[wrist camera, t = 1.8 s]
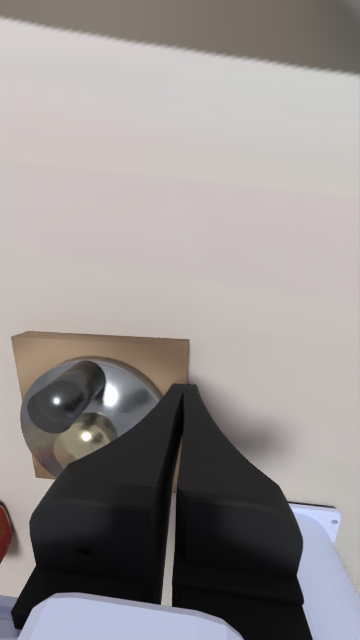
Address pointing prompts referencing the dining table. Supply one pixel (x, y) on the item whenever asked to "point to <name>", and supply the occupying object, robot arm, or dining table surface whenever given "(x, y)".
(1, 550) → the snack package
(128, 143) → the dining table surface
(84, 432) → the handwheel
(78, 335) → the walnut base
